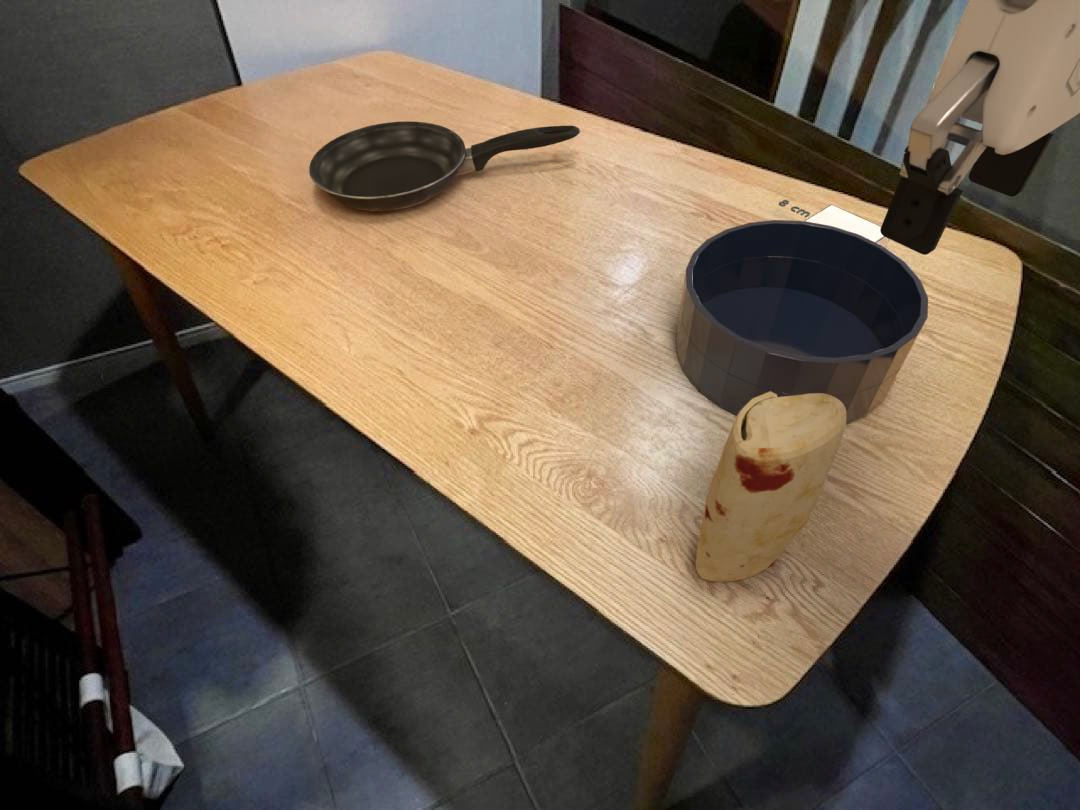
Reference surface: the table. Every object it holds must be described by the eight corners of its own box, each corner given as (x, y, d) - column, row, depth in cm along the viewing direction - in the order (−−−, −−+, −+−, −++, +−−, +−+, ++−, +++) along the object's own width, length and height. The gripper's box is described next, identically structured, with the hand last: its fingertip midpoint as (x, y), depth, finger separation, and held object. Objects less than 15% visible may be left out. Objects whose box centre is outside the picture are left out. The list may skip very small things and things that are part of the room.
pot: (936, 360, 73) (976, 290, 66) (799, 468, 64) (828, 401, 57) (766, 265, 87) (784, 198, 79) (633, 342, 78) (639, 275, 70)
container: (923, 263, 85) (931, 246, 83) (874, 299, 81) (881, 282, 79) (795, 205, 97) (800, 188, 95) (746, 234, 92) (750, 217, 90)
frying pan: (306, 231, 98) (291, 191, 93) (329, 154, 114) (318, 116, 109) (590, 209, 98) (590, 167, 93) (572, 135, 115) (571, 97, 110)
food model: (715, 611, 54) (766, 473, 40) (671, 549, 59) (703, 403, 44) (806, 564, 57) (886, 418, 42) (758, 508, 61) (815, 356, 46)
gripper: (1130, -99, 22) (928, 299, 34) (1305, -165, 28) (1081, 190, 41) (925, -123, 26) (812, 240, 39) (1118, -176, 33) (967, 149, 45)
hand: (950, 214), depth 40 cm, fingers open, 9 cm apart
